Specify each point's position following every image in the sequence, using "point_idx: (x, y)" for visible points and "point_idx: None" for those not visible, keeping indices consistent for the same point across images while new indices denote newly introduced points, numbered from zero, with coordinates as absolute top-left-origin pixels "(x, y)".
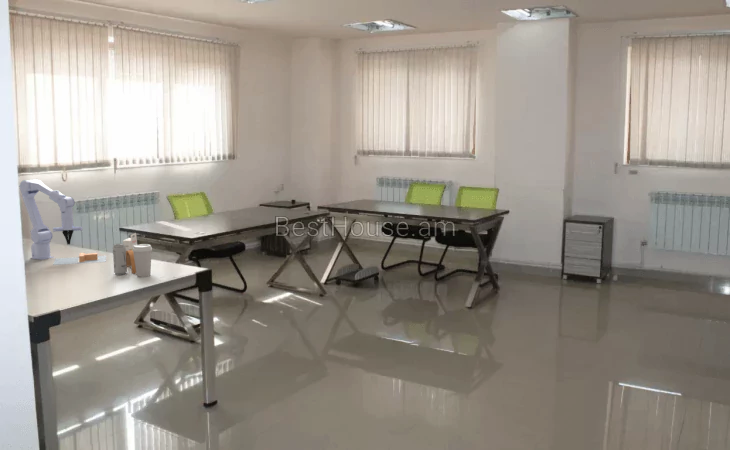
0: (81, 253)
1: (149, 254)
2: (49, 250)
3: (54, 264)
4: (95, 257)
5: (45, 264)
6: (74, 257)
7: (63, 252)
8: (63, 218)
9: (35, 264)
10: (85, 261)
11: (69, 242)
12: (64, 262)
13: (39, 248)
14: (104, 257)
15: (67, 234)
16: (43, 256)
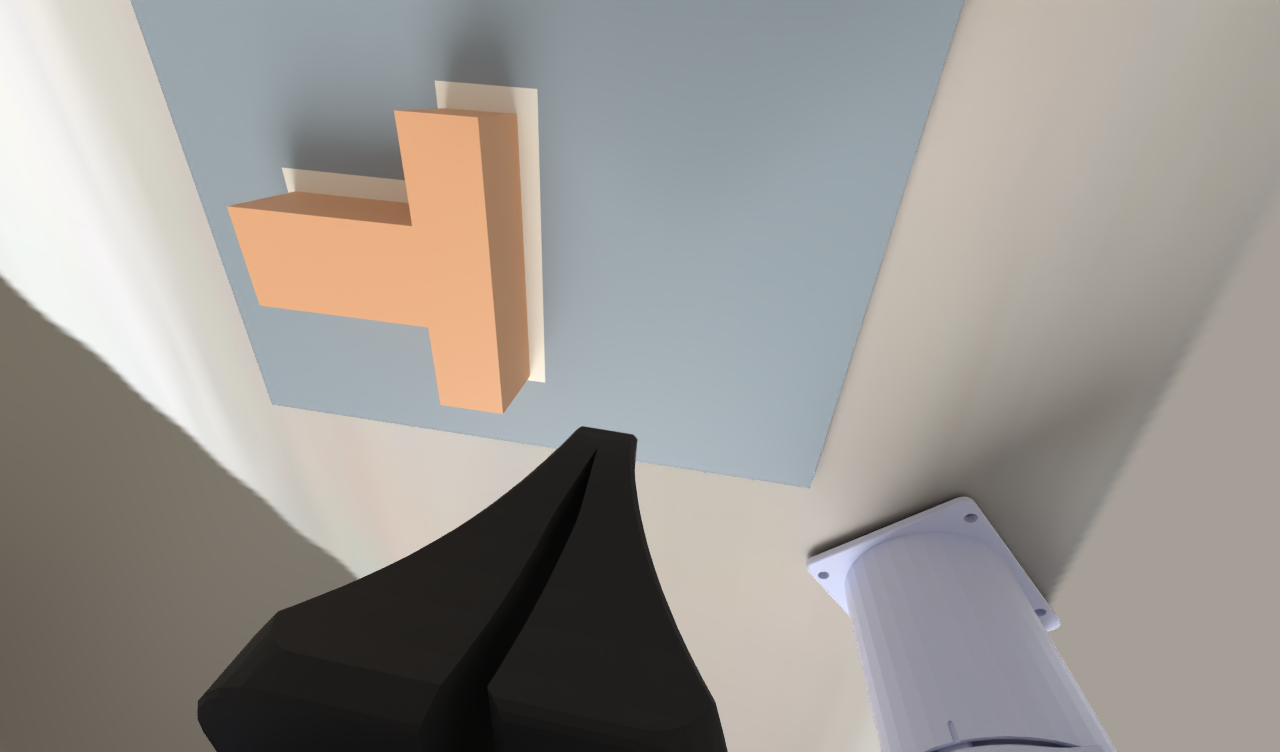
0: (475, 369)
1: None
2: (879, 636)
3: (928, 24)
4: (293, 198)
5: (1027, 199)
6: None
7: None
8: None
9: (1165, 269)
10: (430, 101)
11: (572, 444)
12: (738, 156)
13: (1055, 673)
14: (250, 298)
15: (526, 640)
16: (953, 553)
